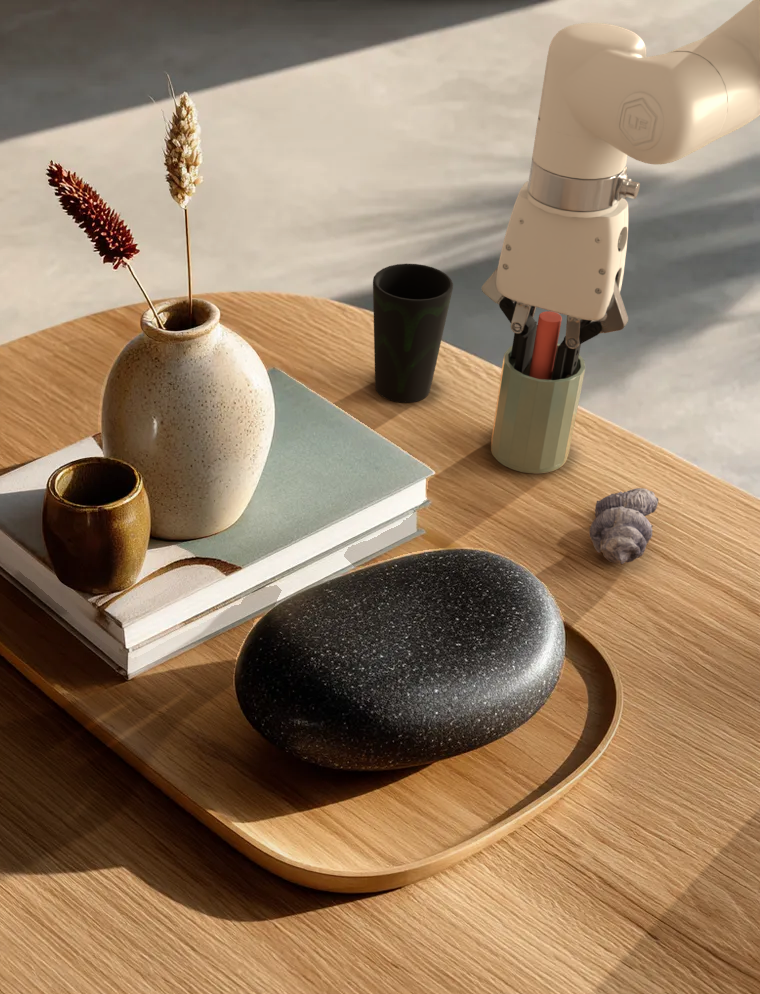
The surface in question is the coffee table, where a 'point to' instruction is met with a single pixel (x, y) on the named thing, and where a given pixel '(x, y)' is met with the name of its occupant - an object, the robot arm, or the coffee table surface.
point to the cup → (408, 328)
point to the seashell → (623, 524)
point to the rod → (545, 345)
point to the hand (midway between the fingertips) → (541, 370)
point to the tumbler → (535, 418)
